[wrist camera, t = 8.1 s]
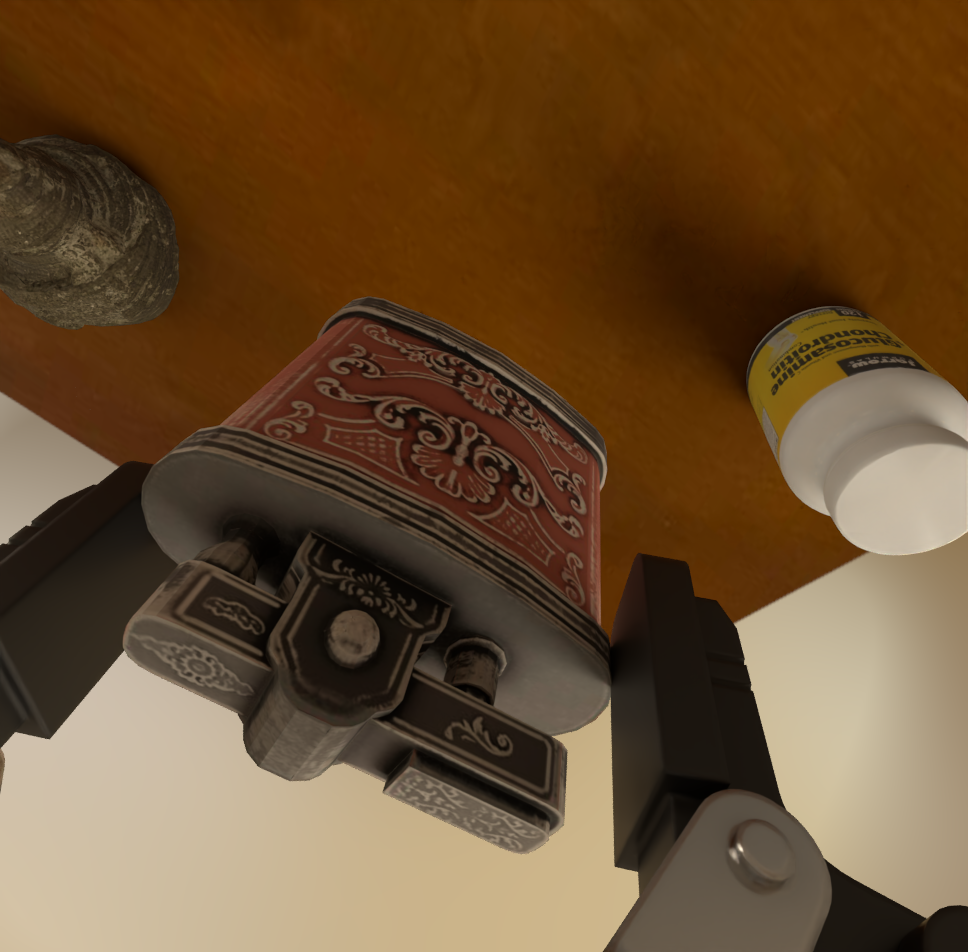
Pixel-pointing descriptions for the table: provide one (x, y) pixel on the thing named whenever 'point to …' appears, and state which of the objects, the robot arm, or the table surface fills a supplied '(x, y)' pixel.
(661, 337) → the table surface
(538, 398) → the lighter
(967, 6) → the table surface
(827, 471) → the pill bottle
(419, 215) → the table surface
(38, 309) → the seashell
